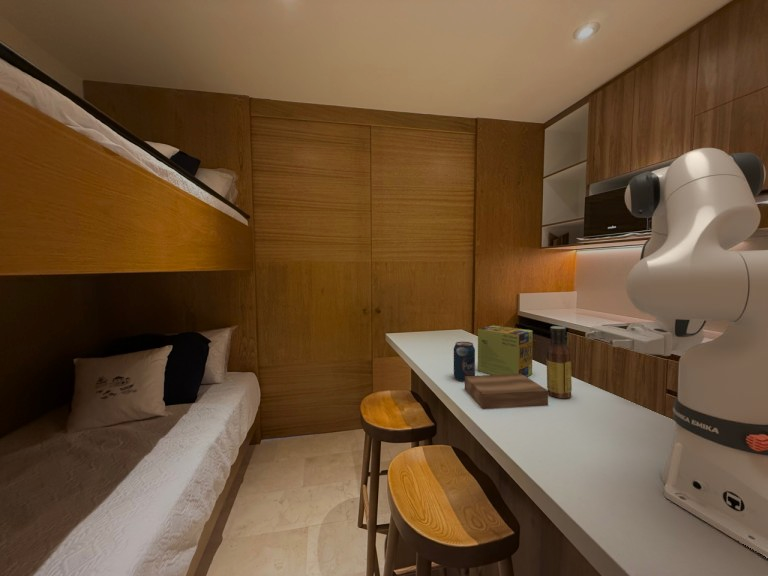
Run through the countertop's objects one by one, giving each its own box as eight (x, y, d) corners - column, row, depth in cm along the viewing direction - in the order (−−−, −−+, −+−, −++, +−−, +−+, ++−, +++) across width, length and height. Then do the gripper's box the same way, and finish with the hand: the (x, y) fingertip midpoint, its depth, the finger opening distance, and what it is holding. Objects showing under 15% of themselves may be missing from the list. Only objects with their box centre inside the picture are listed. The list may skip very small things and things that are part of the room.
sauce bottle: (565, 391, 95) (566, 325, 94) (575, 399, 89) (577, 329, 88) (542, 390, 96) (543, 325, 94) (551, 399, 89) (552, 329, 88)
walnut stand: (548, 405, 86) (548, 390, 85) (483, 408, 84) (483, 393, 84) (520, 386, 99) (521, 373, 99) (464, 389, 98) (464, 376, 98)
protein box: (519, 382, 103) (519, 334, 102) (476, 371, 115) (477, 328, 114) (533, 374, 110) (533, 330, 109) (492, 365, 122) (492, 324, 121)
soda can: (466, 384, 102) (467, 346, 101) (449, 378, 107) (449, 343, 107) (479, 378, 107) (479, 343, 106) (461, 374, 112) (461, 340, 111)
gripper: (614, 320, 104) (574, 322, 103) (677, 334, 84) (628, 336, 82) (613, 339, 104) (574, 341, 103) (676, 357, 84) (627, 360, 83)
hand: (598, 339), depth 93 cm, fingers open, 8 cm apart
